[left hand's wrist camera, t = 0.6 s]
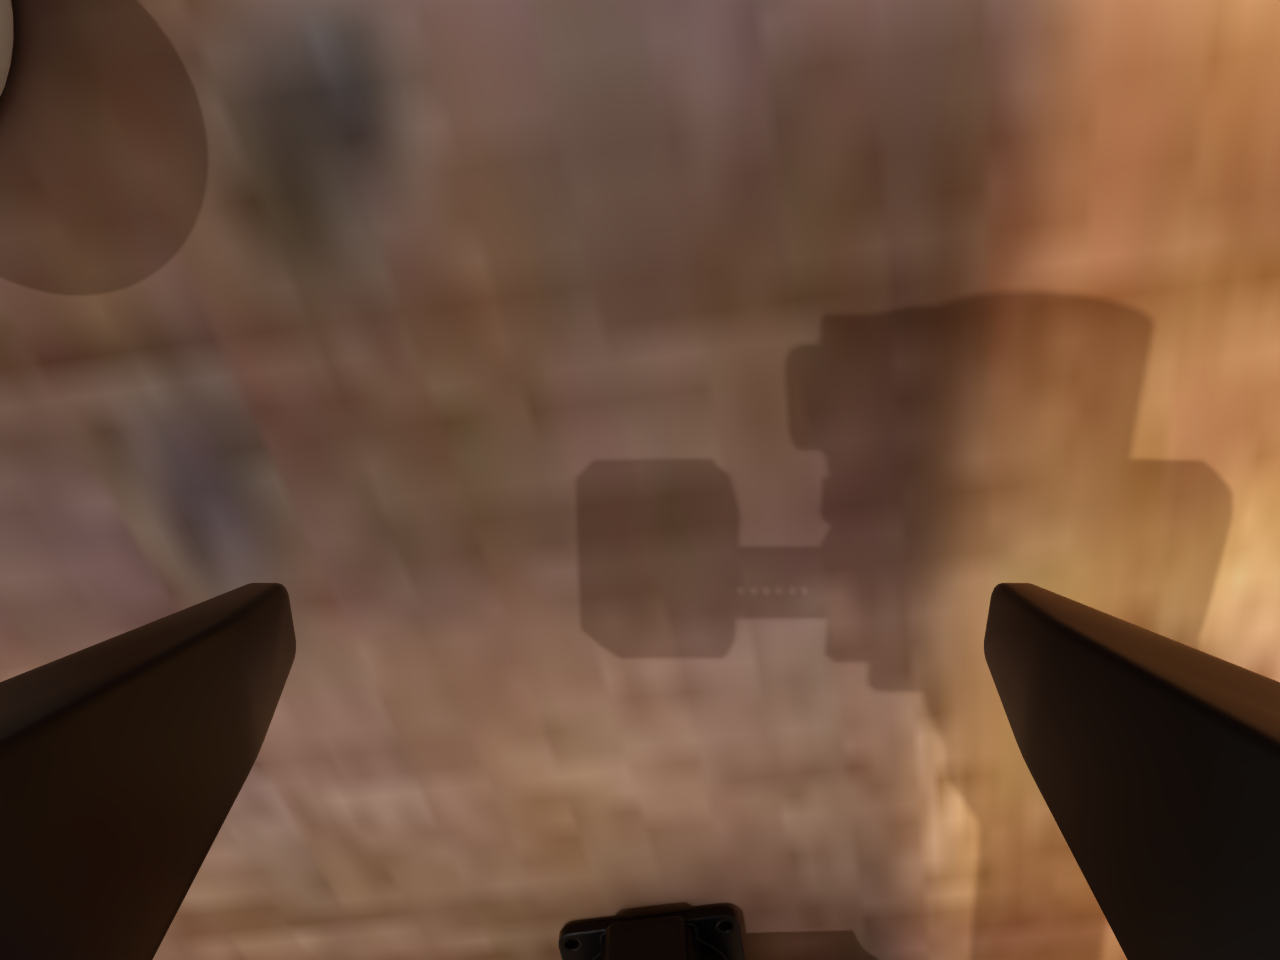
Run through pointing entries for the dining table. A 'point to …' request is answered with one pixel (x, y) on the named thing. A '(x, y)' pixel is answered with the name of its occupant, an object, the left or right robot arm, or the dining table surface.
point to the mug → (5, 40)
